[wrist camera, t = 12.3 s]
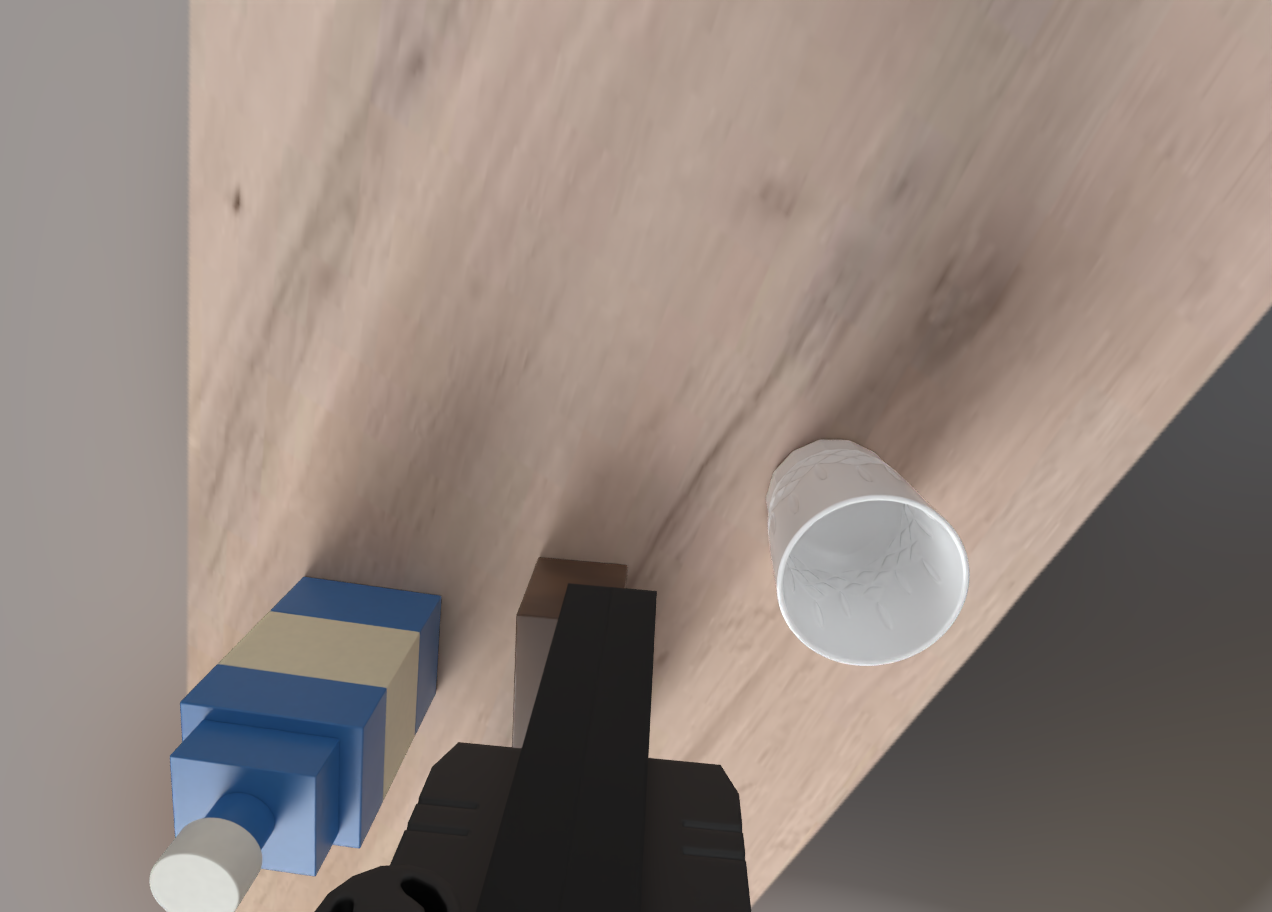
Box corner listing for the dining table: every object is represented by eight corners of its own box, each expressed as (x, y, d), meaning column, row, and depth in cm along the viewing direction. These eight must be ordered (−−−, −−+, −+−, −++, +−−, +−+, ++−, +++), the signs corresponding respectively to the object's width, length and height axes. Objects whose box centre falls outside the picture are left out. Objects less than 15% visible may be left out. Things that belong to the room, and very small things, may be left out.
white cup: (788, 585, 44) (819, 692, 35) (731, 463, 42) (746, 541, 33) (925, 531, 43) (995, 626, 33) (872, 402, 41) (931, 464, 31)
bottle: (555, 676, 40) (170, 855, 27) (543, 785, 42) (180, 998, 29) (384, 554, 49) (43, 644, 37) (381, 647, 51) (57, 762, 39)
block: (627, 564, 44) (619, 624, 38) (613, 744, 48) (603, 825, 42) (538, 556, 45) (516, 614, 38) (530, 736, 48) (509, 816, 42)
